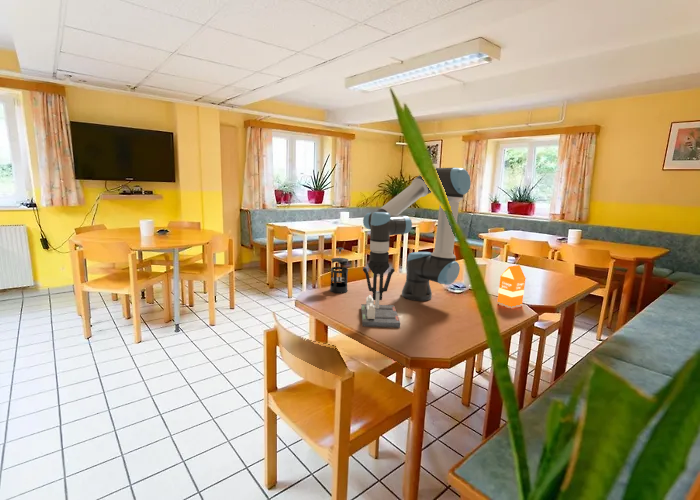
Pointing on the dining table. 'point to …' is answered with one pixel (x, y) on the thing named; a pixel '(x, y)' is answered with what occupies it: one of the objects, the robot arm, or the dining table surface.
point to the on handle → (369, 300)
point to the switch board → (381, 317)
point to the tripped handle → (371, 311)
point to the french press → (338, 286)
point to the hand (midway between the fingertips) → (376, 307)
